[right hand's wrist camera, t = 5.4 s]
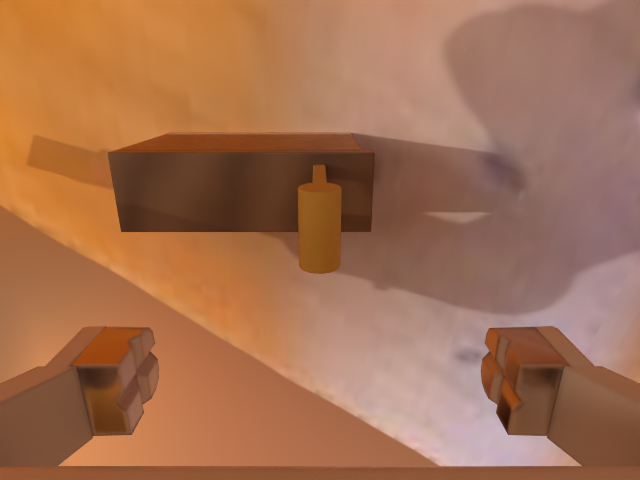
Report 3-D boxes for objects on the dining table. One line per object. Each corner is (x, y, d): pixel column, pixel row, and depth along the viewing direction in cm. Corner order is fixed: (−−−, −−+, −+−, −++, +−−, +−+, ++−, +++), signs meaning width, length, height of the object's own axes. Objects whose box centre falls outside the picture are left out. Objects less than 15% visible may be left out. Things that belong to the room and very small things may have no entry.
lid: (372, 150, 25) (396, 179, 18) (369, 227, 27) (389, 284, 19) (114, 150, 25) (23, 179, 17) (127, 227, 27) (49, 285, 19)
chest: (350, 132, 35) (362, 149, 25) (349, 190, 36) (359, 227, 27) (169, 132, 35) (114, 149, 25) (176, 191, 36) (127, 227, 27)
